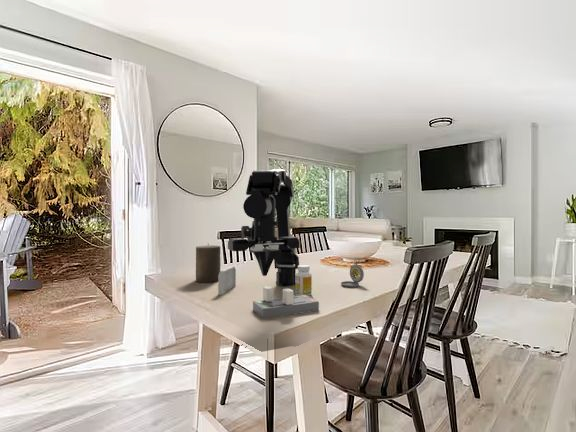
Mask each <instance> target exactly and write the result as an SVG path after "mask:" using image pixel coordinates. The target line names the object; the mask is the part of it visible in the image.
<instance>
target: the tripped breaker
mask: <svg viewBox="0 0 576 432" xmlns="http://www.w3.org/2000/svg"><path fill="white" fill-rule="evenodd" d="M293 296H294V290H293V289H291V288H283V289H282V298H283V303H285V304H286V305H289V304H293Z"/></svg>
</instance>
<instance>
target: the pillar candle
mask: <svg viewBox="0 0 576 432" xmlns="http://www.w3.org/2000/svg"><path fill="white" fill-rule="evenodd" d="M220 271H221V245H210V244H209V243H207V245H196V247H195V281H196V282H198V283H204V284H206V283H218V275H219V272H220Z"/></svg>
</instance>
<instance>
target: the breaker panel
mask: <svg viewBox="0 0 576 432" xmlns="http://www.w3.org/2000/svg"><path fill="white" fill-rule="evenodd" d="M252 310H253V312H255V313H256V314H257V315H258V316H259V317H260V318H261V319H270V318H276V317H282V316H283V317H284V316H289V315H290V314H291V315H296V314H295V313H297V314H302V313H301V312H304V313H310V312H309V311H311V312H316V311H315V310H318V311H319V310H320V302H319V301H318V300H316V299H315V298H312V297H311V296H307V295H300V296H298V295H293V304H289V305H286V304H285V303H283V297H278V298H273V301H268V302H266V301H265V300H264V299H261V300H253V301H252Z"/></svg>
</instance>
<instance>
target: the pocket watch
mask: <svg viewBox="0 0 576 432" xmlns="http://www.w3.org/2000/svg"><path fill="white" fill-rule="evenodd" d="M357 260H358V261H357ZM353 261H354V263H355V264H353V265H352V266H351V267H350V269H349V276H350V278H351V280H352V281H351V280H347V281H341V282H340V285H341V286H342V287H345V288H356V287H359V284H360V283H361V282H362V281H363V280H364V277H365V273H364V269H363V268H362V267H361V266H360V265H358V264H359V263H360V259H359V258H355V259H354V260H353Z"/></svg>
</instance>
